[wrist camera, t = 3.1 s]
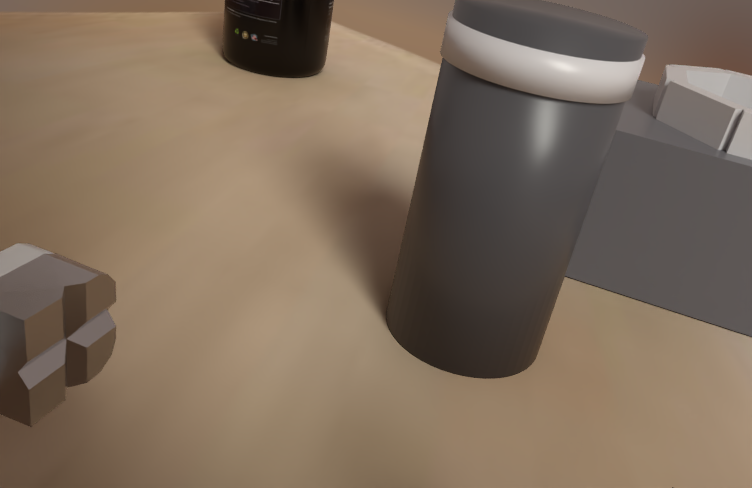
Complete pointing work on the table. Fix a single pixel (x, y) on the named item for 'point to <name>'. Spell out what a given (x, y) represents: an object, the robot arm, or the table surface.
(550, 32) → the lens
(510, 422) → the table surface
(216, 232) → the table surface
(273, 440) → the table surface
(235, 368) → the table surface
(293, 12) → the supplement bottle
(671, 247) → the camera body block
